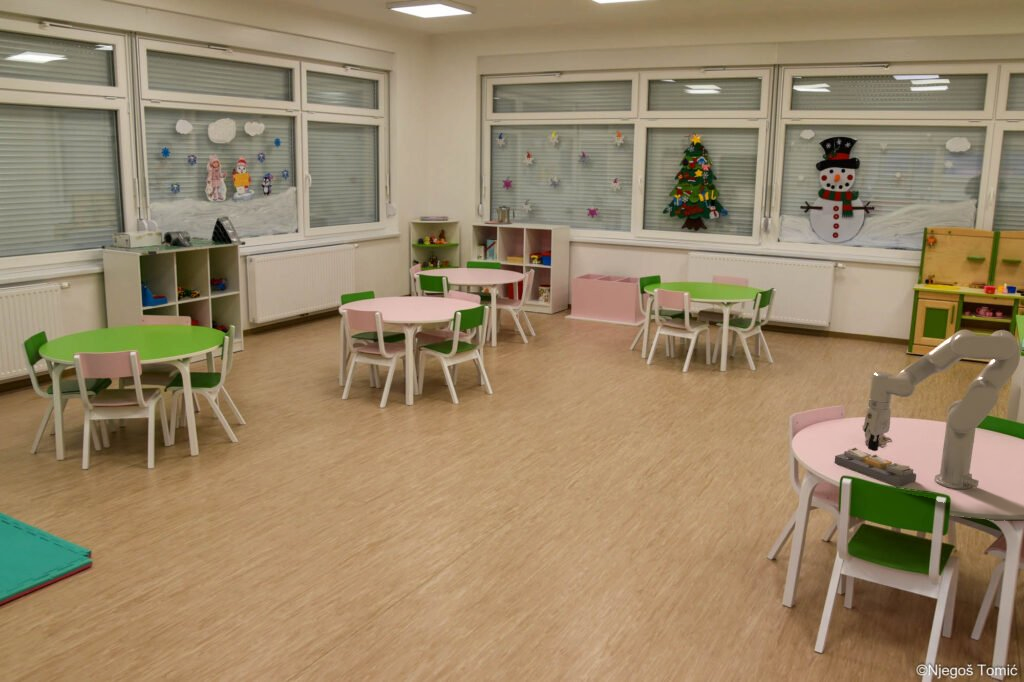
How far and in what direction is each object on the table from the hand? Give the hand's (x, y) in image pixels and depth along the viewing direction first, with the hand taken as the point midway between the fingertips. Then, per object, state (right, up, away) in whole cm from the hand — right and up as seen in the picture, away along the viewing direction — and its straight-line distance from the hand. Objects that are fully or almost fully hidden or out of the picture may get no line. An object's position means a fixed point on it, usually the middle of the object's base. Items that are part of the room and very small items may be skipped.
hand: (872, 449), depth 322 cm
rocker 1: (-3, -2, +6) cm, 7 cm away
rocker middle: (+2, -4, -1) cm, 4 cm away
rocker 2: (+6, -6, -9) cm, 12 cm away
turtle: (+16, -1, +33) cm, 37 cm away
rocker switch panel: (0, -8, -1) cm, 9 cm away
